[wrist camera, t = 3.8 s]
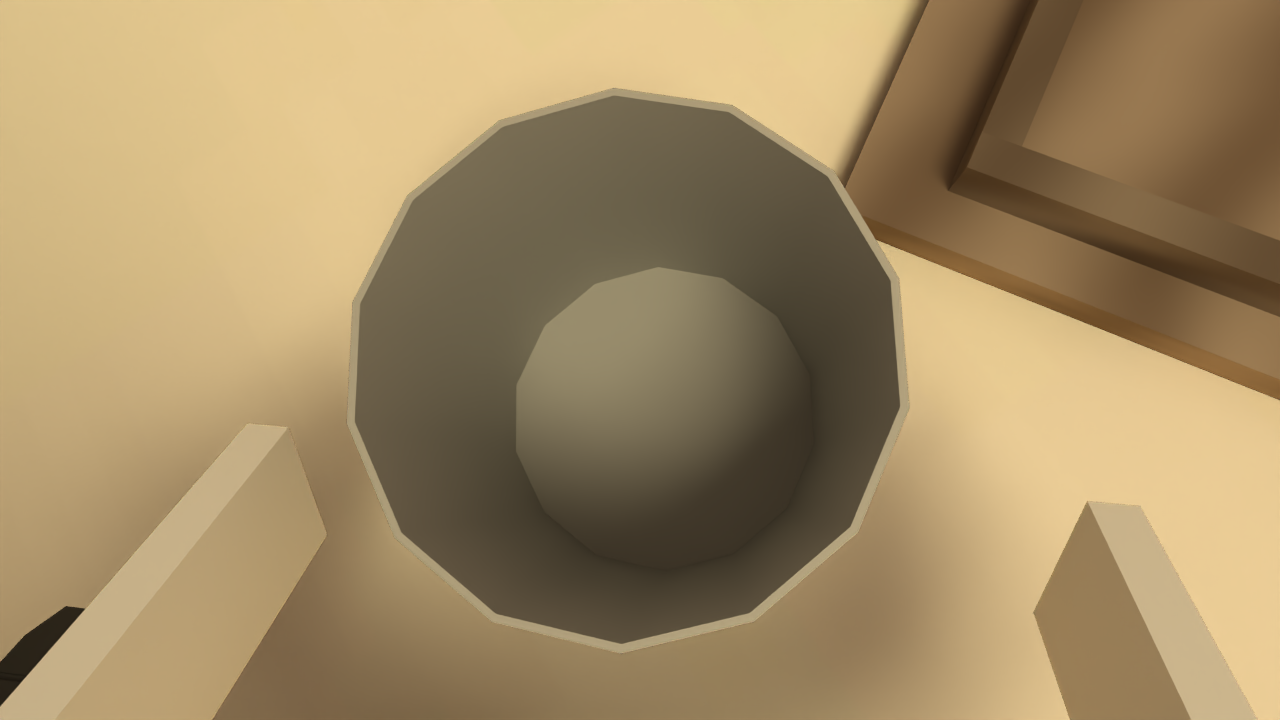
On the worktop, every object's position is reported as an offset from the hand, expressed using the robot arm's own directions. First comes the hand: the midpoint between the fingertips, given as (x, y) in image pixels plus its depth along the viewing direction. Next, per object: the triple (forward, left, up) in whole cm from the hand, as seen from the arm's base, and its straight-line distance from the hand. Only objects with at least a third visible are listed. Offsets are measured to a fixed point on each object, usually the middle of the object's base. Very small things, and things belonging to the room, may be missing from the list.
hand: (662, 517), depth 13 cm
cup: (-2, +2, -8) cm, 8 cm away
